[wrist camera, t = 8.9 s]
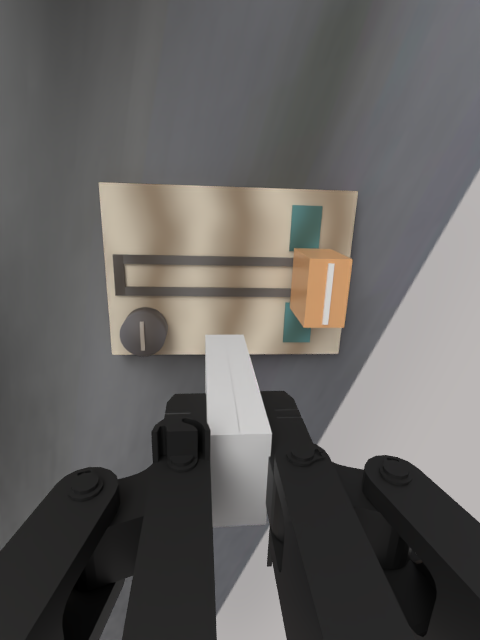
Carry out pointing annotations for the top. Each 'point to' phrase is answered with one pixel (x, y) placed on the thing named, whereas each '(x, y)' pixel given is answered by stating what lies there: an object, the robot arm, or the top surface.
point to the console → (214, 264)
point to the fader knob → (320, 287)
